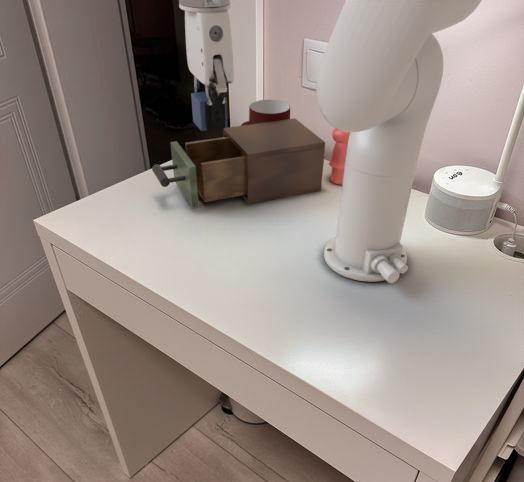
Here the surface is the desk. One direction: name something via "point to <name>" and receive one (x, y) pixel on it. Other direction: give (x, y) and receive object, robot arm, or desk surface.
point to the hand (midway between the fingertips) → (210, 122)
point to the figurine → (339, 155)
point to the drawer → (206, 170)
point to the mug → (267, 111)
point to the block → (202, 109)
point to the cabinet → (279, 159)
